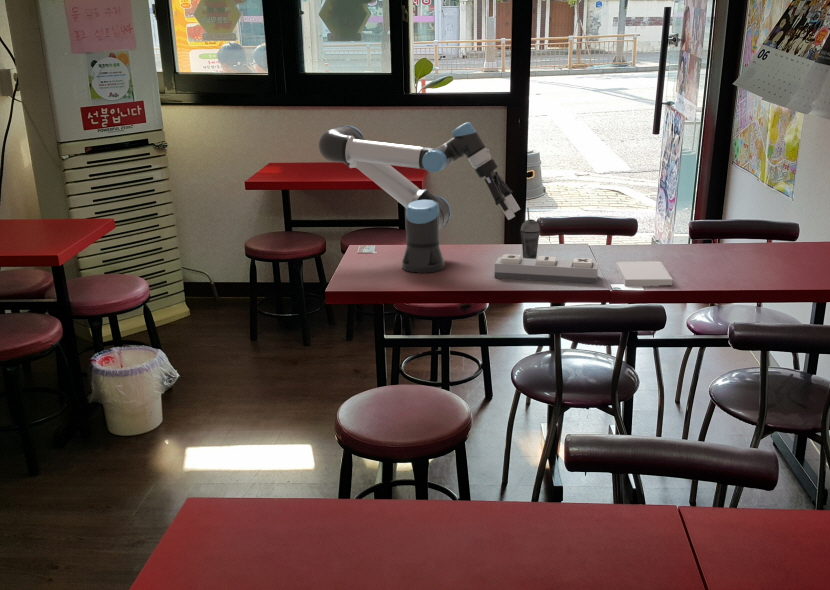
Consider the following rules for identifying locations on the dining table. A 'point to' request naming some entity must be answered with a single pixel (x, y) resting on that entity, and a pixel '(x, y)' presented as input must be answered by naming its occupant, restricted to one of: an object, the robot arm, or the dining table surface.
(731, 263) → the dining table surface
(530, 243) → the beverage cup
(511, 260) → the block
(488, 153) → the robot arm
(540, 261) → the bar
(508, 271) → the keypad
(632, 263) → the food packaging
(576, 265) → the key cross
